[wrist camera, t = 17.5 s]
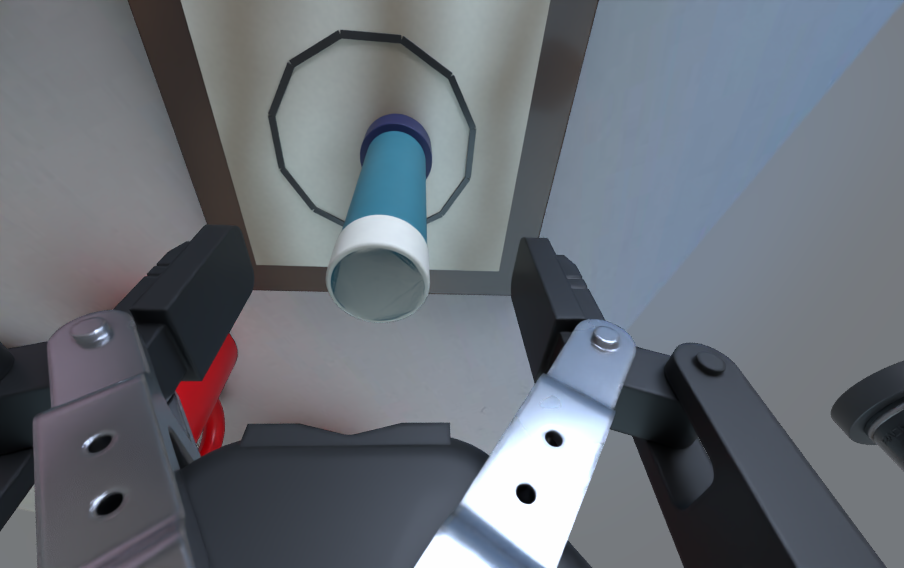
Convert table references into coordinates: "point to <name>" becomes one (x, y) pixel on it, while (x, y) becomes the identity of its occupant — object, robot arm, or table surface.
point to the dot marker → (385, 226)
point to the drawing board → (369, 119)
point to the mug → (208, 399)
